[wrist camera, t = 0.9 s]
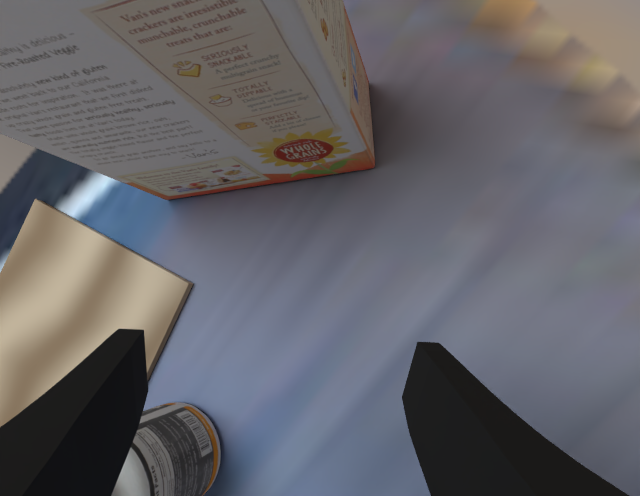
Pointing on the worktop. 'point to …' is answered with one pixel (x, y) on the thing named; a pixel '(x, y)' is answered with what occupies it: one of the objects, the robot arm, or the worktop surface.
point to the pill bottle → (171, 454)
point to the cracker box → (187, 90)
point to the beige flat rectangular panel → (74, 303)
